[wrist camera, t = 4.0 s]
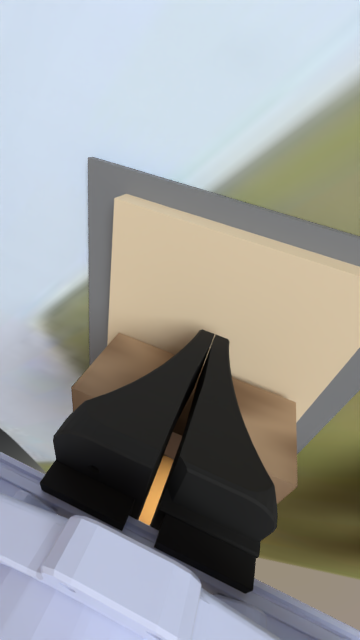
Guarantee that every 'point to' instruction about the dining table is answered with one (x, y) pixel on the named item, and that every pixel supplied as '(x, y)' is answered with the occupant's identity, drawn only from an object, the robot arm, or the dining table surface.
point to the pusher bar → (254, 403)
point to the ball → (156, 490)
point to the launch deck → (226, 286)
